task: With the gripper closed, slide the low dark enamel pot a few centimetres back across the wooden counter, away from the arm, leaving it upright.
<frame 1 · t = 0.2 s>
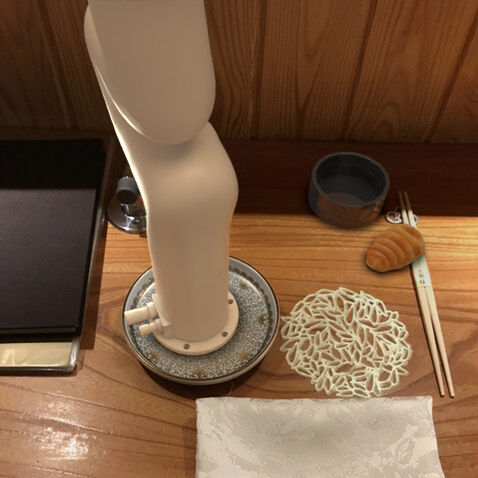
pastry: (394, 255, 88), on the counter
pot: (344, 200, 93), on the counter
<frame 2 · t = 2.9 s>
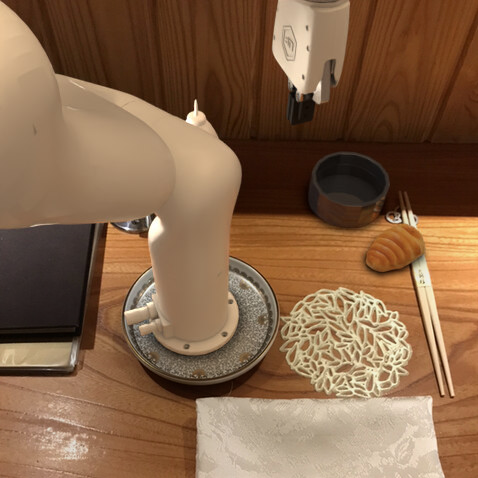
hand: (299, 119, 75), 19 cm above the counter, tool pointing down, fingers closed
nothing on the counter moved.
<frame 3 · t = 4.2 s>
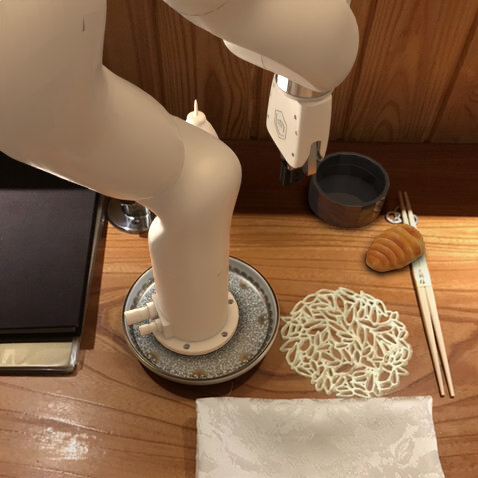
hand: (290, 181, 85), 7 cm above the counter, tool pointing down, fingers closed
nothing on the counter moved.
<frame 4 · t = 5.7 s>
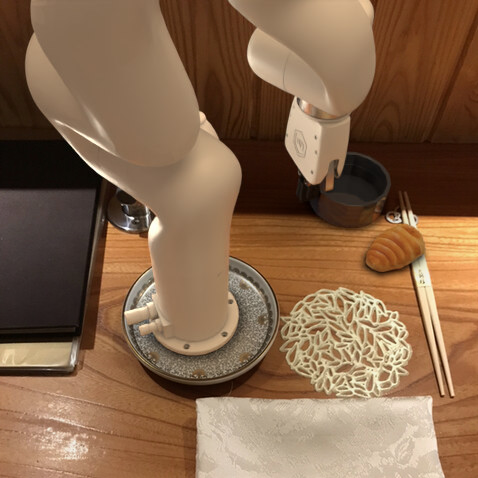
hand: (306, 196, 89), 3 cm above the counter, tool pointing down, fingers closed
pot: (345, 200, 93), on the counter, touching gripper
everything else where it was.
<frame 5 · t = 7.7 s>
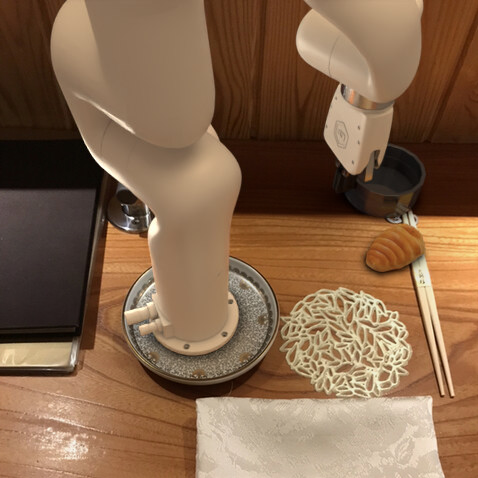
hand: (342, 188, 90), 3 cm above the counter, tool pointing down, fingers closed
pot: (379, 191, 95), on the counter, touching gripper
everything else where it was.
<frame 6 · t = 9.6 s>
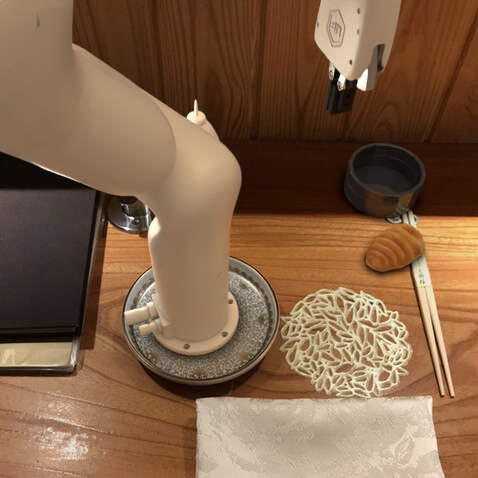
hand: (337, 109, 74), 20 cm above the counter, tool pointing down, fingers closed
pot: (379, 190, 95), on the counter
everything else where it was.
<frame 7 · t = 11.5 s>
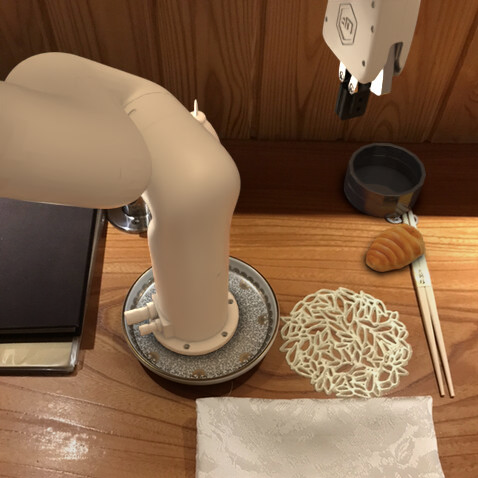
hand: (349, 113, 66), 25 cm above the counter, tool pointing down, fingers closed
nothing on the counter moved.
at the end: pot moved 6.6 cm from its start; pot 0.6 cm from the target spot, on the counter; pot tilted 0° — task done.
